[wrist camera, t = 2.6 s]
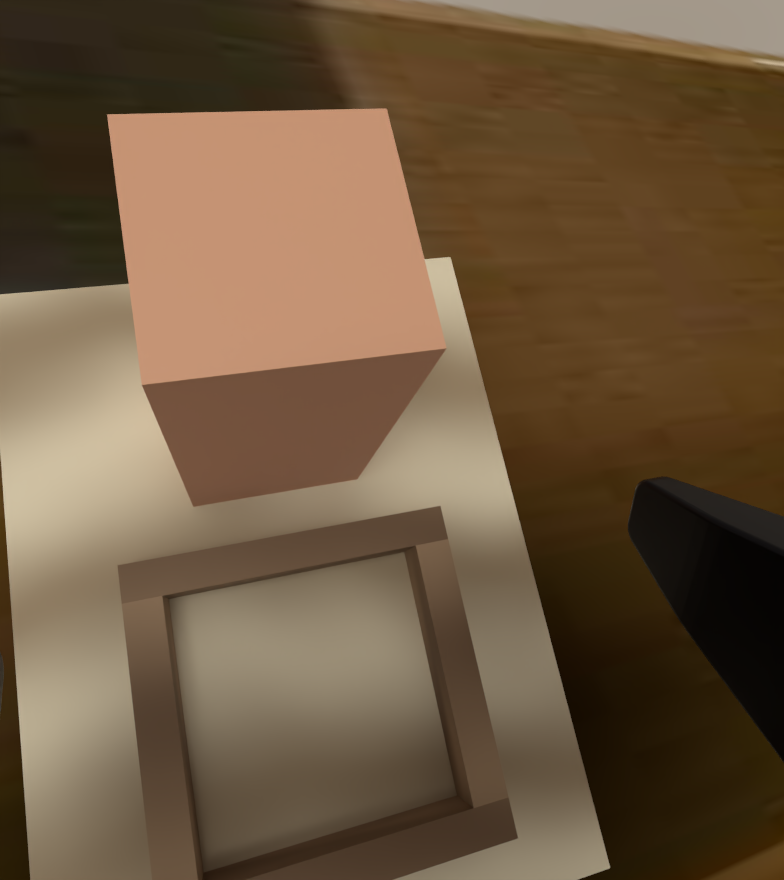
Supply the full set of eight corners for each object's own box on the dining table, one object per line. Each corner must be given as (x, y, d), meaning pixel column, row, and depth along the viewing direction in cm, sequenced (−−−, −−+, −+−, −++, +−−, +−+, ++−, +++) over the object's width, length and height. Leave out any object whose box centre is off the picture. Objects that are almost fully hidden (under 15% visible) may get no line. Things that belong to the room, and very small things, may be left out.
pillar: (357, 479, 21) (446, 348, 11) (193, 506, 19) (141, 385, 10) (327, 334, 22) (386, 108, 13) (171, 352, 21) (106, 114, 11)
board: (593, 856, 20) (639, 886, 18) (55, 1045, 16) (22, 1114, 14) (442, 271, 25) (463, 233, 22) (0, 310, 21) (-31, 269, 19)
